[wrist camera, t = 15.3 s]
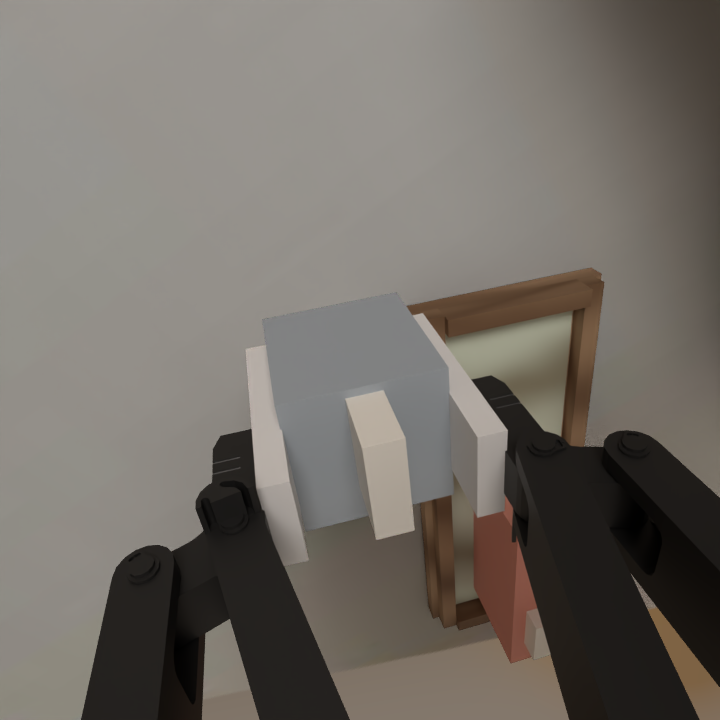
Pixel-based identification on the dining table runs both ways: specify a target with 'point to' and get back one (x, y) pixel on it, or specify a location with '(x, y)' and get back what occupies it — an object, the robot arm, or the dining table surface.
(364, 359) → the gray cube
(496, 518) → the pink pillar with cube
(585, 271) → the picture frame
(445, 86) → the dining table surface
